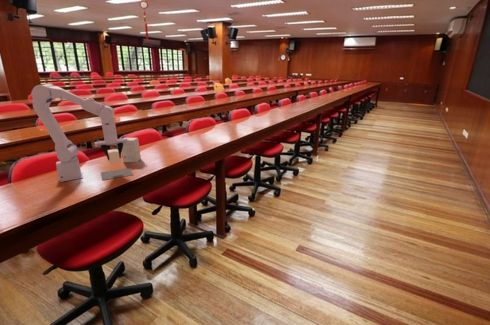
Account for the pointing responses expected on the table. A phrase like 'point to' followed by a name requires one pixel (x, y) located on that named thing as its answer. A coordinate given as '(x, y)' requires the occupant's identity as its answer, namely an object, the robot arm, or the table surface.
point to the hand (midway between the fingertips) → (114, 158)
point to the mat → (116, 173)
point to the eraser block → (114, 156)
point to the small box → (131, 150)
